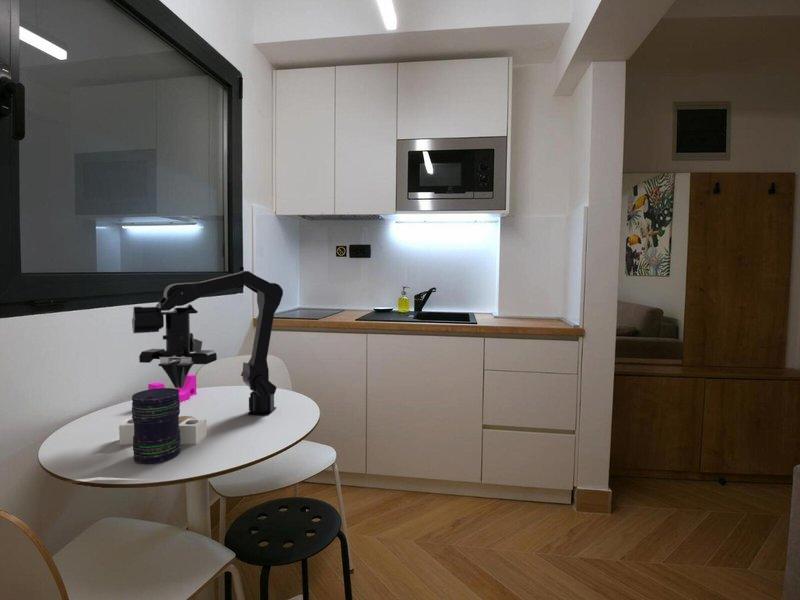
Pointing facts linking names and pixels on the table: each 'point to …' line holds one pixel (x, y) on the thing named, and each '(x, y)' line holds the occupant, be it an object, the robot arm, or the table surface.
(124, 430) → the marked cube
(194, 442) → the marked cube
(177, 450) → the storage jar
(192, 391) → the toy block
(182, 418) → the beige rounded disc
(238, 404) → the table surface
